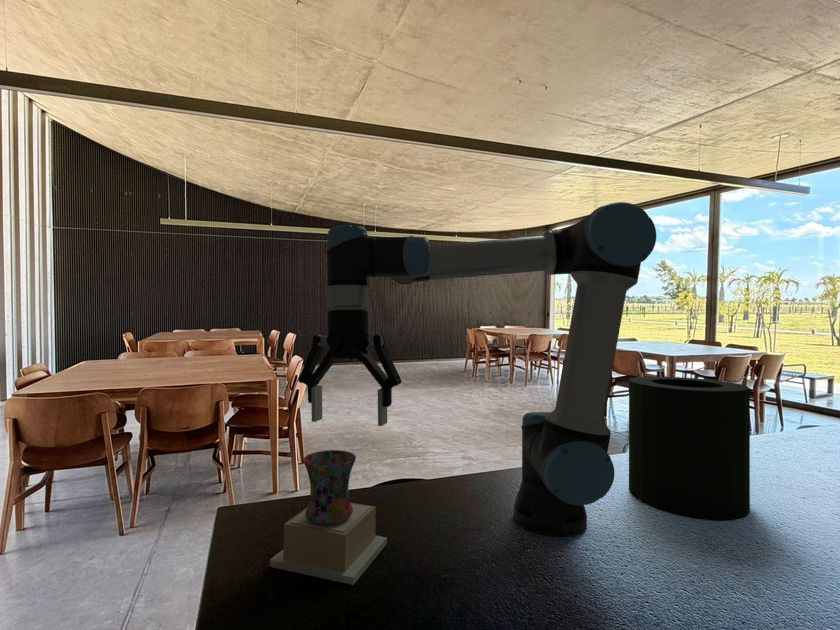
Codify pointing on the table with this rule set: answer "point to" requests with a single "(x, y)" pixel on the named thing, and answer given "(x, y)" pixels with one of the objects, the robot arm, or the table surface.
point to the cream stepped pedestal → (331, 546)
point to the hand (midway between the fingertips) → (349, 422)
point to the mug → (329, 485)
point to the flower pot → (690, 446)
